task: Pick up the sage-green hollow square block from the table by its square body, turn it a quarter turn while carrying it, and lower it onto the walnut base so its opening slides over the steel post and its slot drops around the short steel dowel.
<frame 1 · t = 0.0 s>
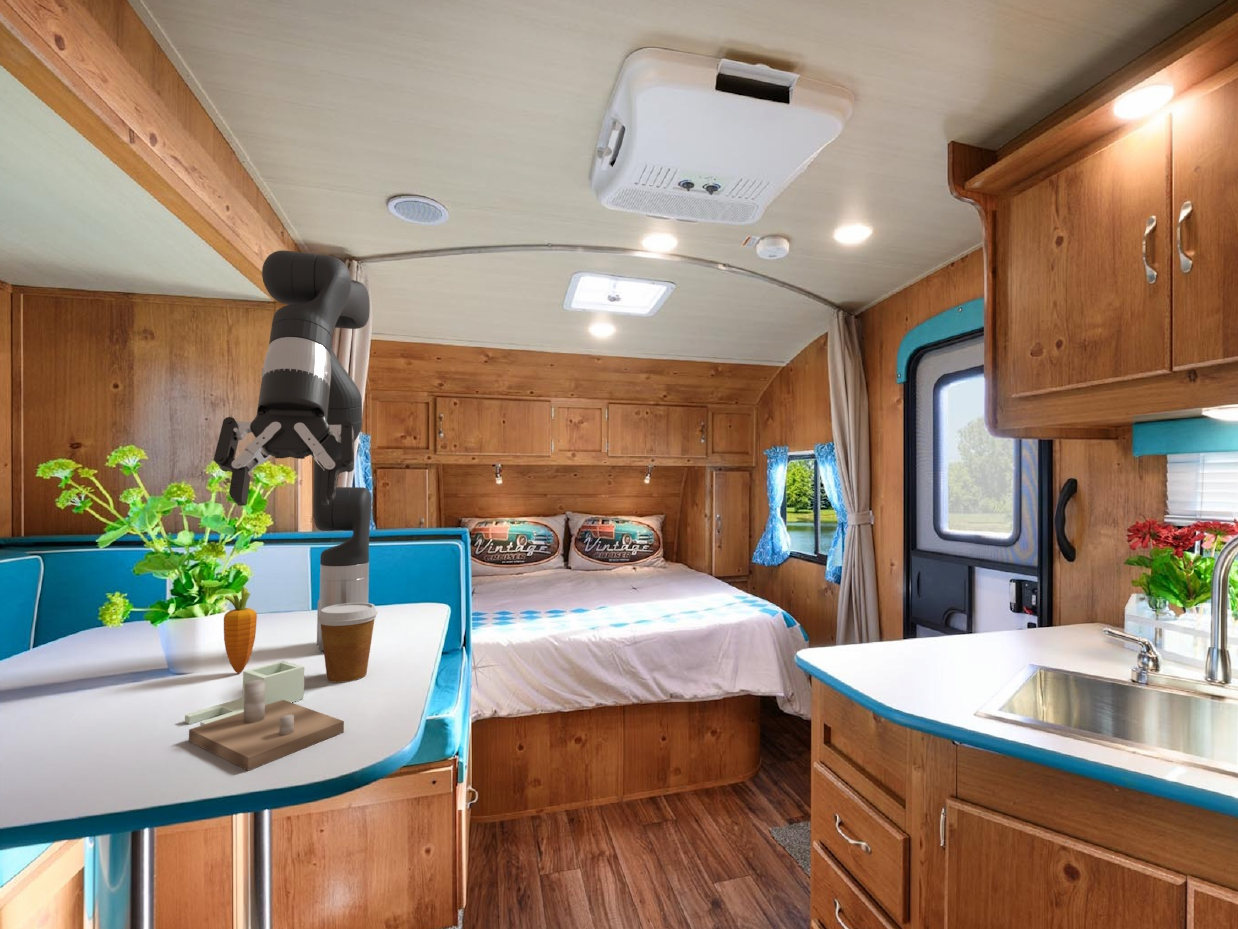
hand: (282, 503, 65), 31 cm above the table, tool tilted 20°, fingers open, 8 cm apart
carrot: (238, 674, 100), on the table
post base: (267, 736, 75), on the table
hollow square block: (273, 701, 87), on the table
disposable coffee cup: (347, 677, 99), on the table
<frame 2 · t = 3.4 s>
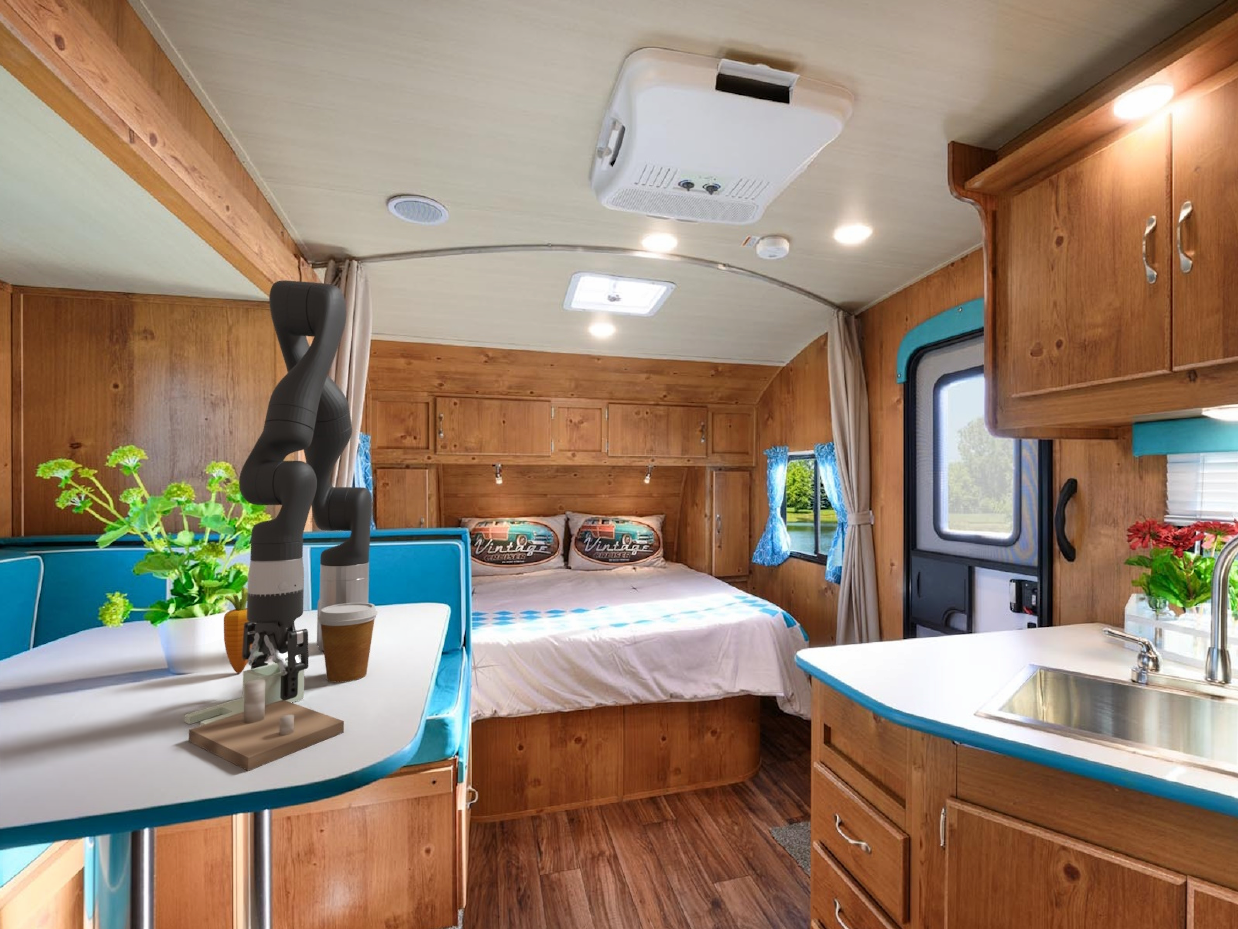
hand: (273, 693, 87), 1 cm above the table, tool pointing down, fingers open, 8 cm apart
nothing on the table moved.
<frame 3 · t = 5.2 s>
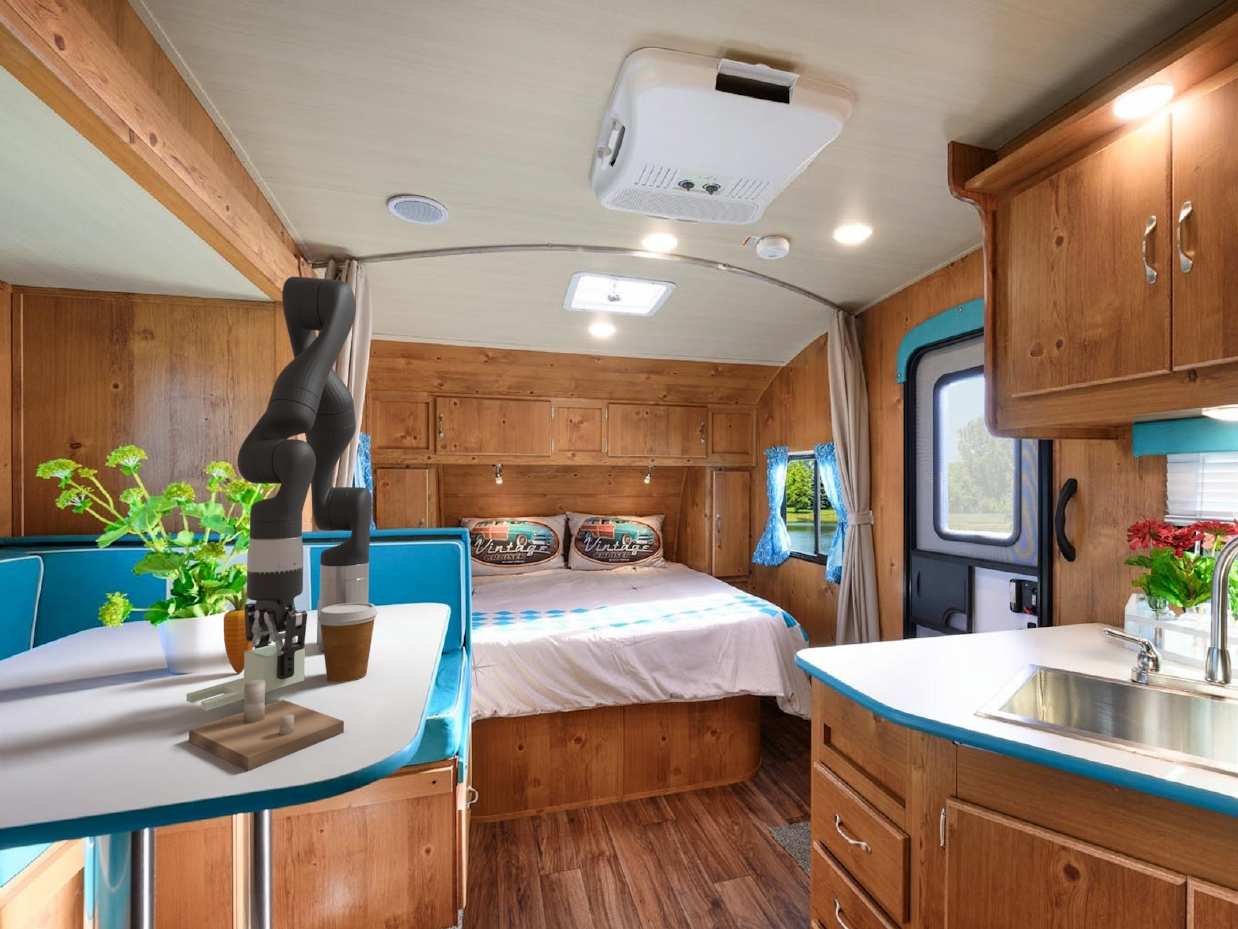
hand: (273, 673, 87), 4 cm above the table, tool pointing down, fingers closed on hollow square block, 6 cm apart
hollow square block: (274, 682, 88), point 3 cm above the table, touching gripper
everything else where it was.
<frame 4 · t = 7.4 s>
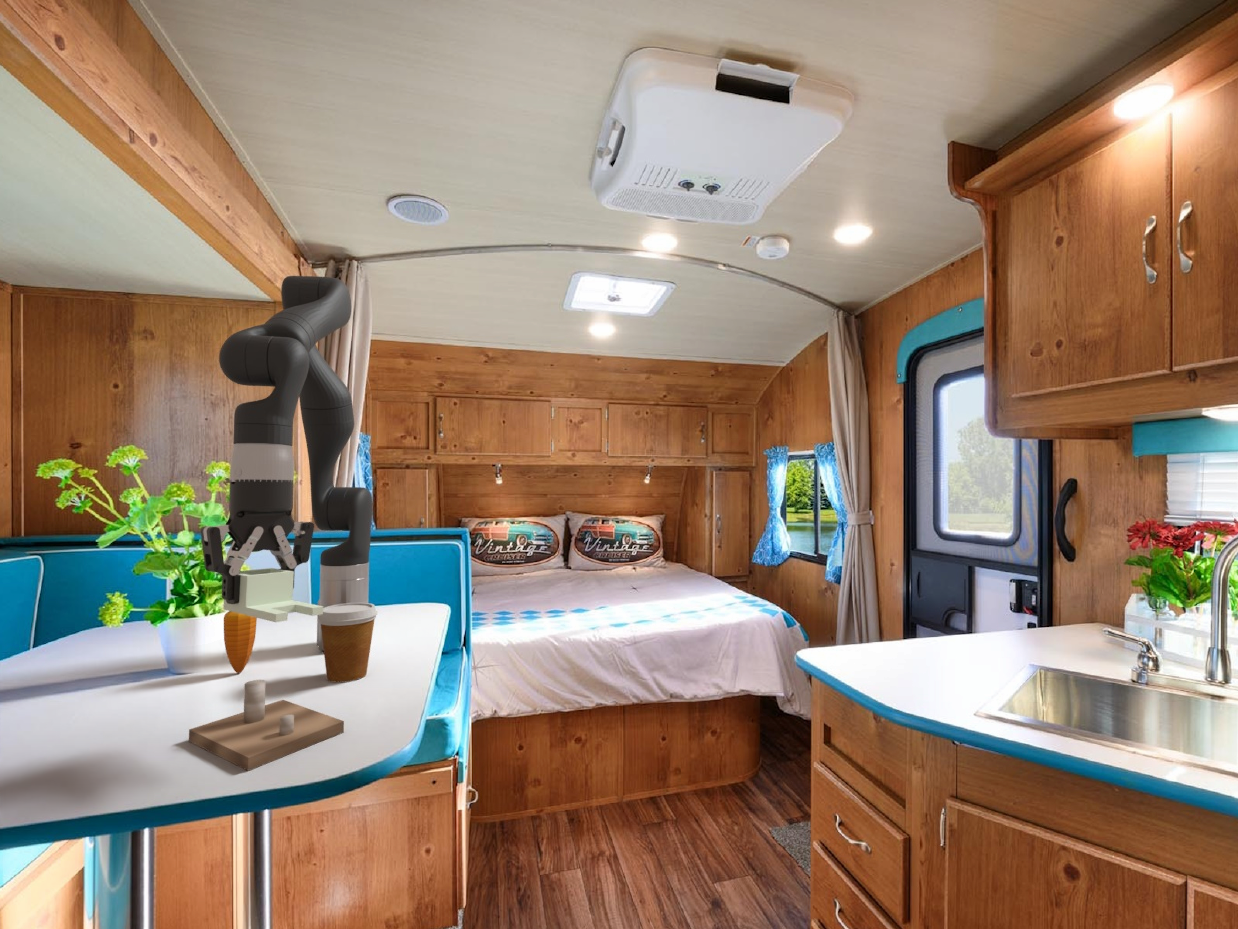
hand: (259, 598, 77), 18 cm above the table, tool pointing down, fingers closed on hollow square block, 6 cm apart
hollow square block: (258, 608, 77), point 17 cm above the table, touching gripper
everything else where it was.
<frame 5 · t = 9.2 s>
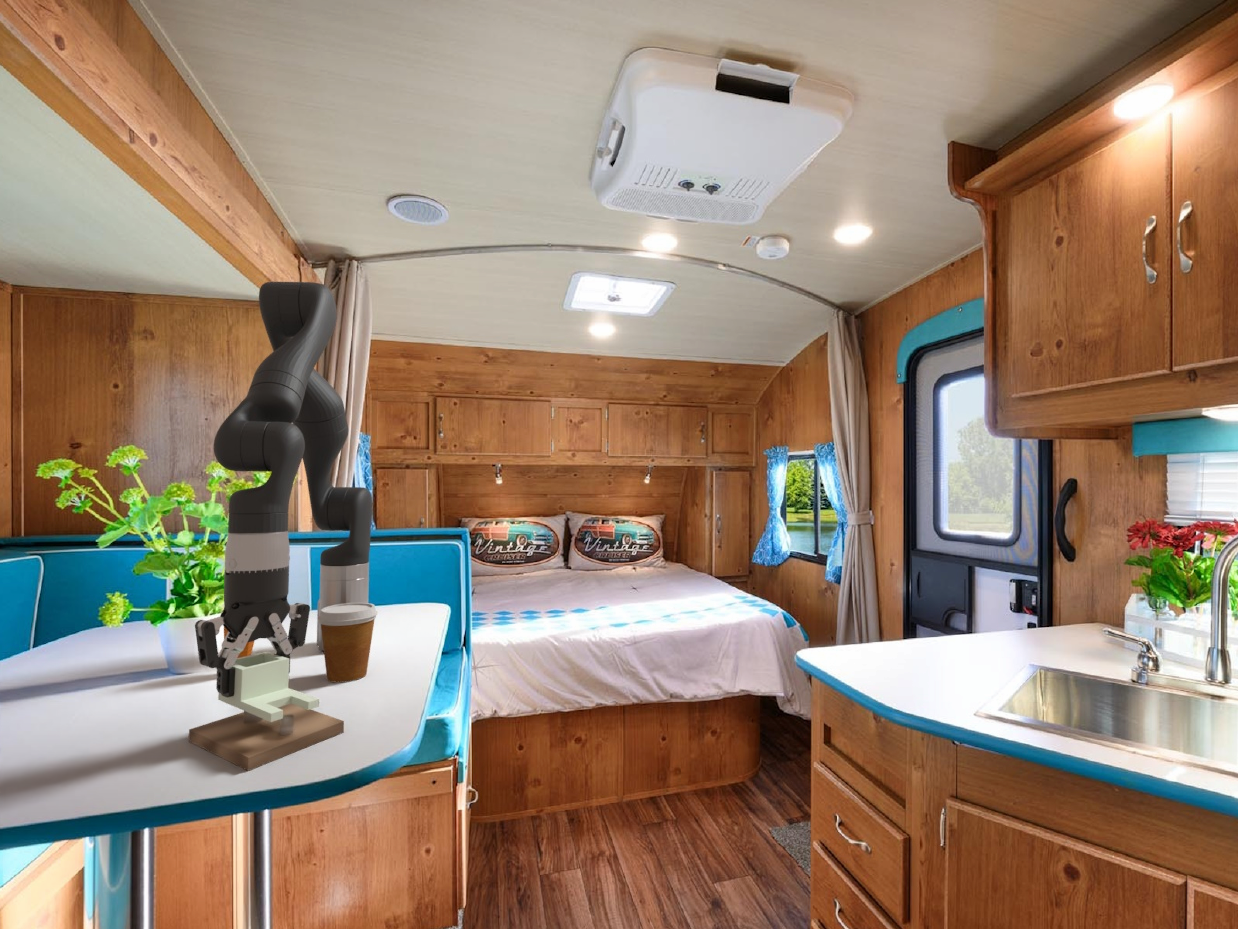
hand: (254, 687, 77), 6 cm above the table, tool pointing down, fingers closed on hollow square block, 6 cm apart
hollow square block: (253, 697, 77), point 5 cm above the table, touching gripper
everything else where it was.
when the fingers open (3 cm above the table, at t = 10.7 s): hollow square block stays where it is, resting on post base.
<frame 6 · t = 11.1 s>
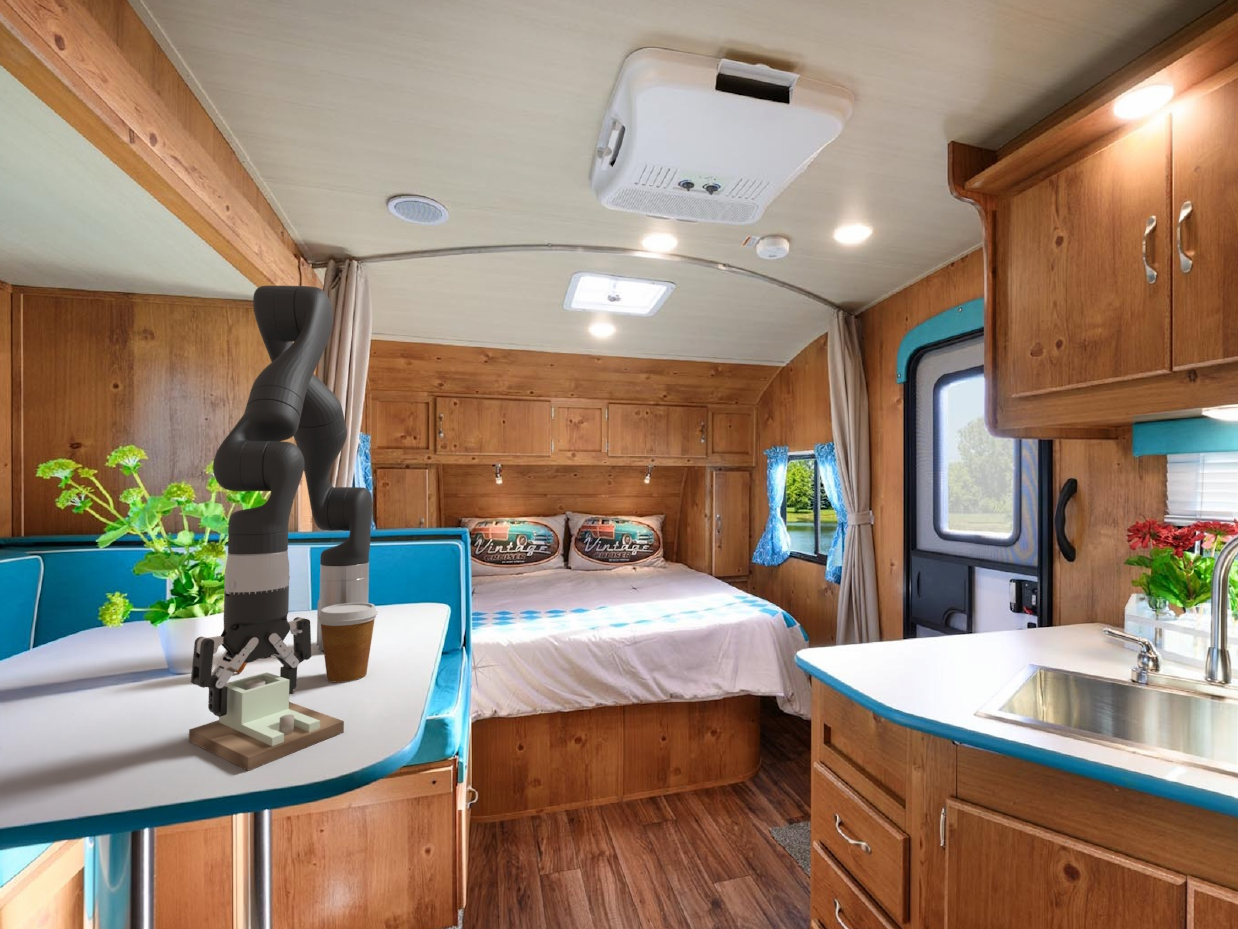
hand: (254, 704, 77), 4 cm above the table, tool pointing down, fingers open, 8 cm apart
hollow square block: (254, 719, 77), point 1 cm above the table, touching post base
everything else where it was.
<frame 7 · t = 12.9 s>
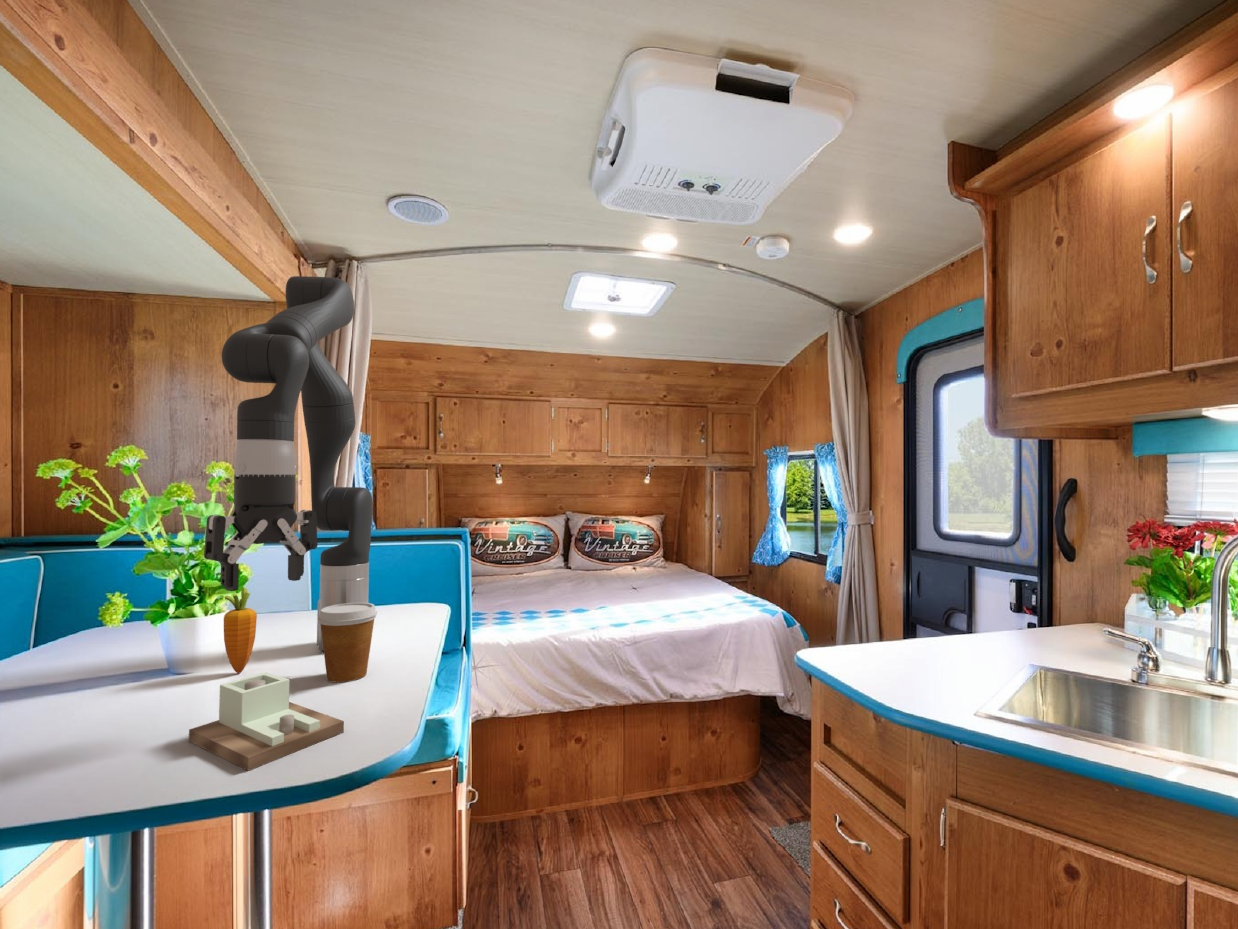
hand: (264, 585, 80), 19 cm above the table, tool pointing down, fingers open, 8 cm apart
nothing on the table moved.
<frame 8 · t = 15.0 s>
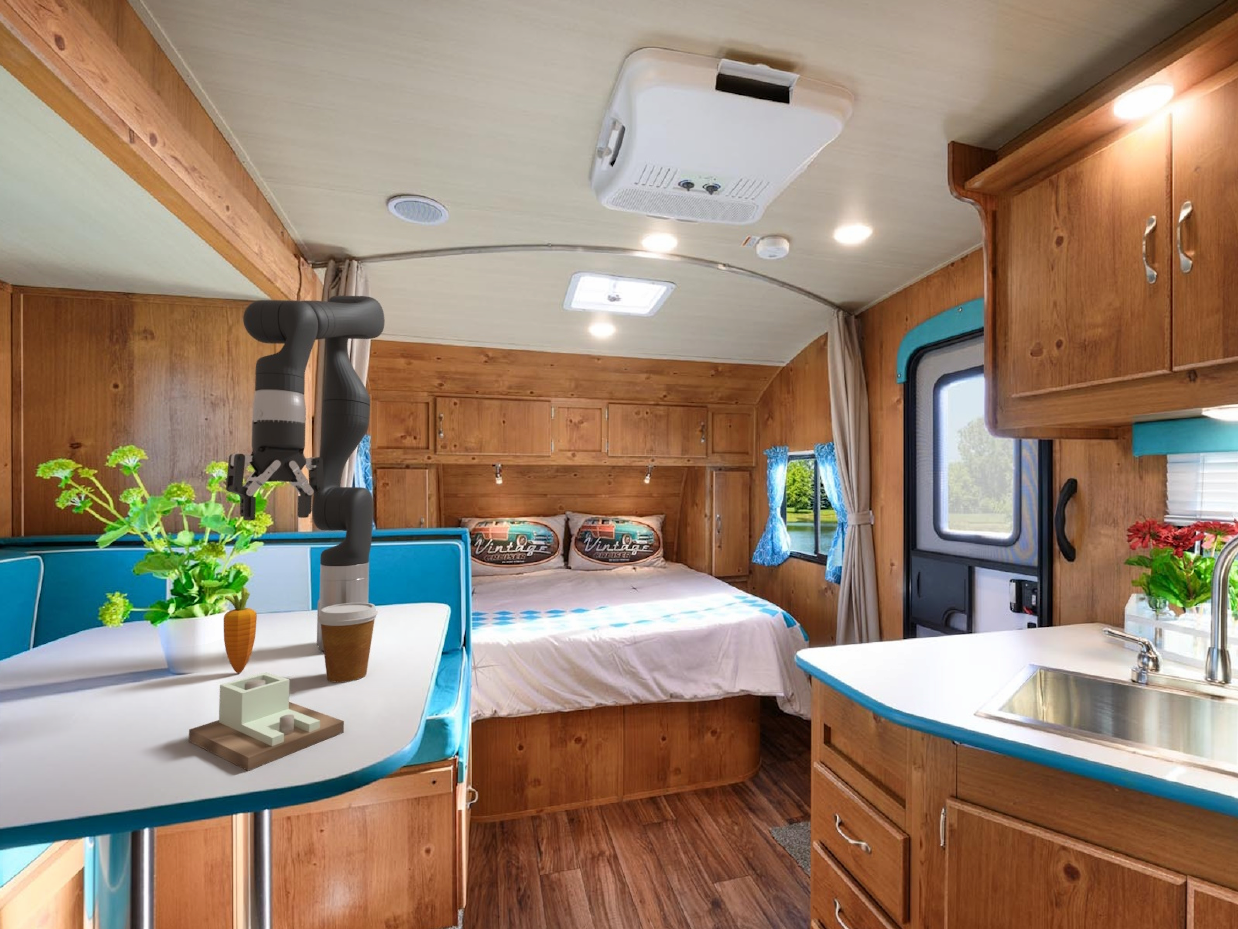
hand: (277, 518, 92), 28 cm above the table, tool pointing down, fingers open, 8 cm apart
nothing on the table moved.
at the end: hollow square block 0.1 cm from the target spot, point 1.5 cm above the table; hollow square block tilted 0°; the gripper is holding nothing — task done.
